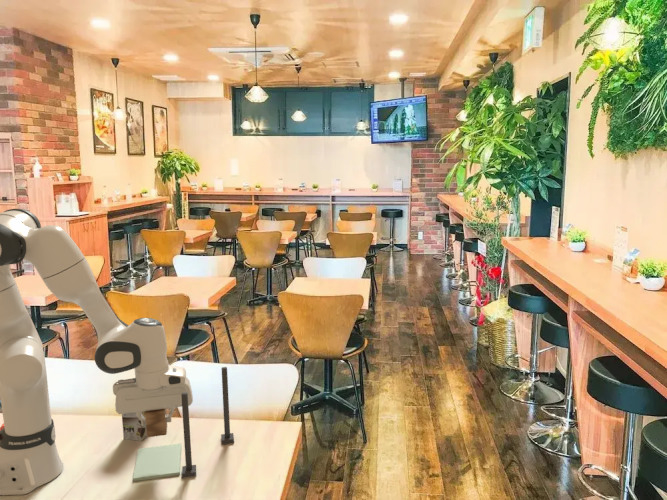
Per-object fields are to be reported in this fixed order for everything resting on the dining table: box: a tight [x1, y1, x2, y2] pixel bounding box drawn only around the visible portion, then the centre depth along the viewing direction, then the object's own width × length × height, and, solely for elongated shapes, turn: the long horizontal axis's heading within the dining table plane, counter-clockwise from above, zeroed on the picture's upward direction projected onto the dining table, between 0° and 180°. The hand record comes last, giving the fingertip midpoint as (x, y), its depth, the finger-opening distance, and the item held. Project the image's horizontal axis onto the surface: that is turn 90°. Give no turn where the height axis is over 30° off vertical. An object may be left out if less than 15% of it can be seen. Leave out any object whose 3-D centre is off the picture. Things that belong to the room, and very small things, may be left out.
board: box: [132, 443, 182, 482], centre depth 157 cm, size 12×15×1 cm
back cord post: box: [220, 366, 235, 445], centre depth 166 cm, size 4×4×23 cm
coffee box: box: [121, 411, 147, 442], centre depth 172 cm, size 9×6×16 cm
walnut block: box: [145, 408, 168, 438], centre depth 155 cm, size 5×5×7 cm
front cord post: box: [181, 392, 197, 479], centre depth 150 cm, size 4×4×23 cm
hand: (156, 422), depth 155 cm, fingers closed on walnut block, 5 cm apart
